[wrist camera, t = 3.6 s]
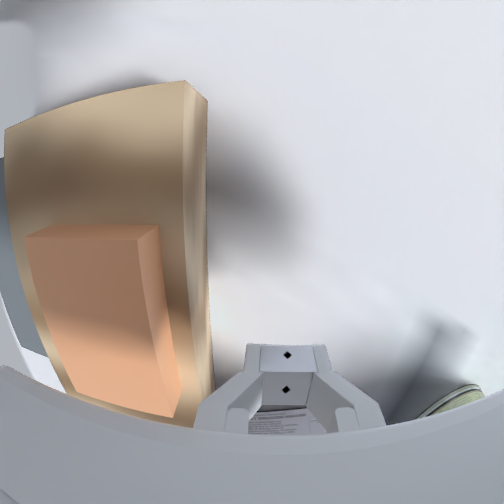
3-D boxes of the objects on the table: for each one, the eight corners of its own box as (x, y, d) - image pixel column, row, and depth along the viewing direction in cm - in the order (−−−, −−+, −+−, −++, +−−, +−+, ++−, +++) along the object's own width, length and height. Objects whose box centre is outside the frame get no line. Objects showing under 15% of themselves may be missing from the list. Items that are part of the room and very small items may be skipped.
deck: (48, 129, 12) (5, 129, 9) (207, 101, 12) (185, 80, 8) (95, 377, 19) (75, 407, 15) (216, 400, 19) (208, 441, 15)
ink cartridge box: (248, 443, 21) (237, 578, 7) (238, 410, 19) (218, 579, 5) (354, 430, 20) (380, 563, 6) (362, 395, 18) (404, 557, 4)
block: (51, 225, 10) (23, 237, 8) (159, 224, 10) (136, 240, 8) (91, 370, 13) (76, 391, 11) (181, 390, 13) (172, 417, 11)
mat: (-18, 165, 13) (-20, 166, 13) (47, 143, 13) (44, 143, 12) (22, 344, 19) (21, 346, 19) (91, 369, 19) (90, 371, 18)
